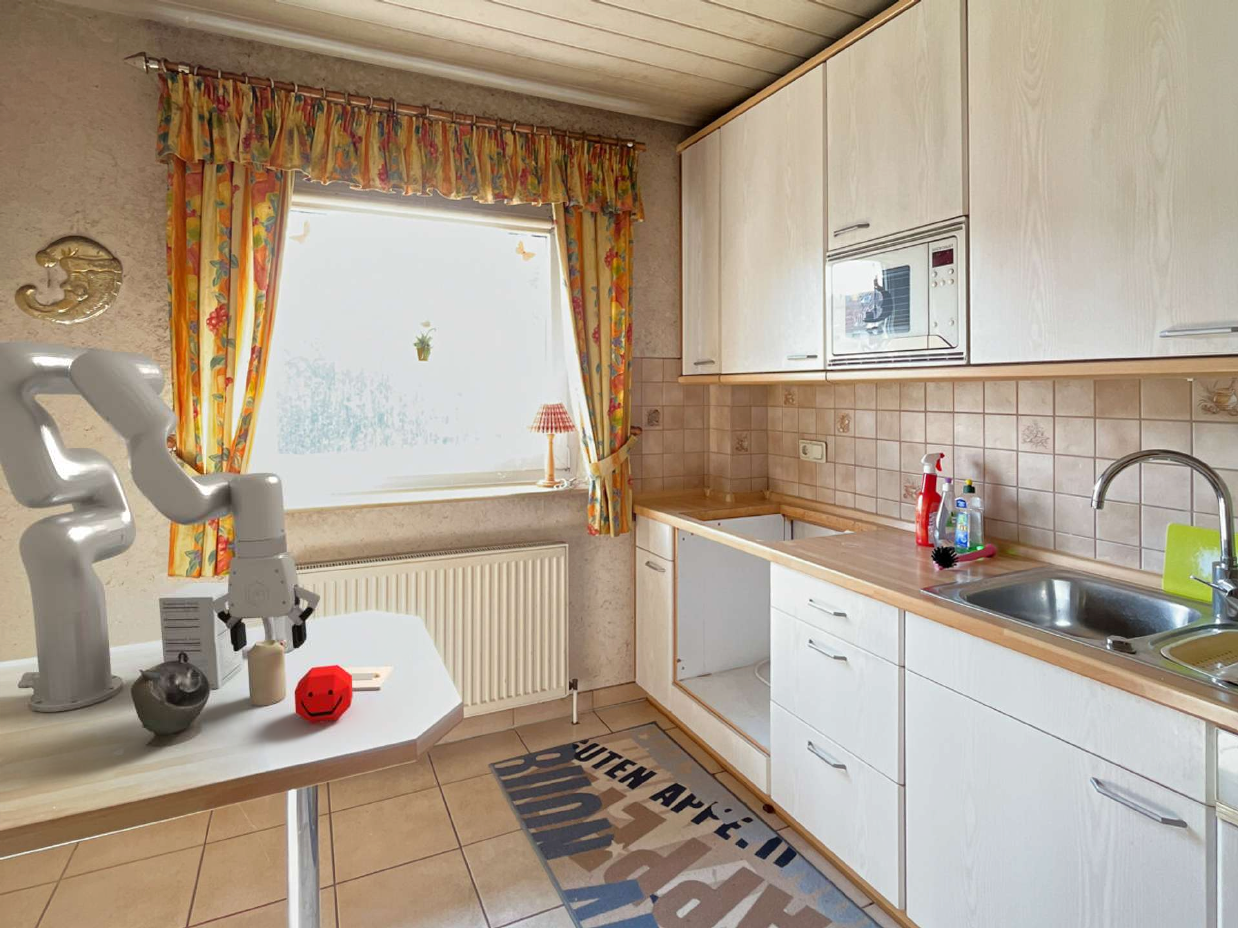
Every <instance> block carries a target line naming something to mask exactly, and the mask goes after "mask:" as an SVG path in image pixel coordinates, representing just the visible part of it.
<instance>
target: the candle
mask: <svg viewBox="0 0 1238 928" xmlns="http://www.w3.org/2000/svg"><path fill="white" fill-rule="evenodd" d="M246 656H247V673H248V675H247V677H248V689H249V691H248V692H249V702H250V705H253V706H259V707H261V706H270V705H274V704H277V703H279V702H281V701H283V700H284V699H286V696H287V683H286V681H287V680H286V665H285V664H286V662H285V661H286V659H285V653H284V647H283V646H282V645H280V644H279V643H278V642H276V641H275V640H265V639H264V640H262V641H256V642H255V643H254V645H253V646H252V647H251V648H250V649H249V650H248V651H247V652H246Z"/></svg>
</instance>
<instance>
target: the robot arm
mask: <svg viewBox="0 0 1238 928" xmlns="http://www.w3.org/2000/svg"><path fill="white" fill-rule="evenodd" d="M165 383H166V379H165V375H164V372H163V370H162V368H161V367H160V365H159V364H158V363H157V362H156V361H155V360H154V359H153V358H151V357H149V356H148V355H146V354H142V353H138V352H133V351H132V352H129V351H120V350H119V351H118V350H108V349H101V348H100V349H99V348H94V347H88V346H87V347H85V346H78V345H68V344H57V343H56V344H55V343H46V342H36V341H24V340H23V341H21V340H20V341H18V340H17V341H14V340H13V341H2V342H0V465H1V469H2V471H3V474H4V476H5V480H6V483H7V486H8V488H9V491H10V492H11V494H12V496H13V498H14V499H15V501H16V502H17V503H18V504H20V505H21V506H23V507H24V508H25V507H26V508H27V509H33V510H34V509H37V510H39V509H47V508H54V507H60V506H66V505H71V506H72V509H73V510H71V511H67V512H62V513H57V514H53V515H50V516H45V517H43V518H41V519H39V520H36V521H35V522H33V523H32V524H30V525H29V526H28V527H26V528H25V530H24V532H23V533H22V535H21V536H20V539H19V542H18V543H19V545H18V546H19V547H18V548H19V549H18V550H19V554H20V558H21V562H22V563H23V568H24V569H25V571H26V575H27V577H28V578H27V579H28V582H29V587H30V593H31V600H32V601H31V602H32V603H31V604H32V611H33V622H34V630H35V643H36V644H35V645H36V646H35V647H36V654H37V666H38V668H37V669H38V671H30V672H27V671H26V672H24V673H23V674H22V676H21V679H20V680H19V681H18V684H17V687H18V689H32V690H33V694H32V695H31V696H30V697H29V699H28V706H29V709H32V710H33V711H35V712H36V711H37V712H43V713H45V712H46V713H52V712H55V713H56V712H64V711H70V710H75V709H79V708H83V707H88V706H91V705H93V704H96V703H99V702H102V701H105V700H107V699H109V698H112V697H113V696H115V695H117V694H118V693H119V692H120V691H122V689H123V688H124V680H123V678H122V677H121V676H118V675H116V674H115V675H114V674H112V665H111V653H110V641H109V640H110V639H109V626H108V625H109V624H108V615H107V613H108V612H107V602H106V600H107V599H106V593H105V588H104V585H103V583H102V580H101V579H100V577H99V576H98V574H97V573H96V571H95V570H94V567H93V564H95V563H98V562H99V563H100V562H102V561H104V560H108V559H110V558H114V557H117V556H119V555H121V554H124V553H125V552H126V551H128V550H129V549H130V548H131V547H132V545H133V544H134V542H135V539H136V534H137V527H136V522H135V520H134V519H135V518H134V515H133V512H132V509H131V507H130V504H129V501H128V498H127V496H126V492H125V490H124V486H123V483H122V481H121V478H120V476H119V473H118V471H117V469H116V466H115V465H114V464H113V462H112V461H111V460H110V459H109V458H108V457H107V456H106V455H104V454H103V453H102V452H100V451H98V450H96V449H92V448H87V447H74V448H73V447H72V448H67V447H66V445H65V443H64V441H63V439H62V437H61V434H60V430H59V427H58V425H57V423H56V421H55V419H54V418H53V416H52V415H51V414H50V412H48V410H47V409H46V408H44V406H43V405H41V404H40V403H39V402H38V401H37V400H36V396H37V395H70V396H71V395H77V396H79V395H80V396H81V397H82V399H84V400H85V402H86V403H87V404H88V405H89V406H90V407H91V408H92V409H93V410H94V411H95V413H97V414H98V416H99V417H100V418H102V420H103V421H104V423H106V425H108V427H110V429H111V430H112V432H114V433H115V434H116V435H117V437H118V438H120V439H121V441H122V442H123V443H124V444H125V446H126V453H127V457H126V458H127V463H128V467H129V471H130V474H131V479H132V481H133V482H134V484H135V486H136V487H137V489H138V491H140V493H141V494H142V495H143V497H145V499H147V501H149V503H150V504H151V505H152V506H153V507H154V508H155V509H156V510H157V511H158V512H159V513H160V514H161V515H162V516H164V517H165V518H166V519H168V520H169V521H171V522H173V523H175V524H178V525H181V526H195V525H199V524H203V523H206V522H210V521H213V520H217V519H220V518H224V517H225V518H226V517H228V516H232V523H233V535H234V539H233V541H229V542H227V547H226V548H227V550H228V551H234V555H235V556H234V557H232V558H230V563H229V571H228V577H227V578H228V579H227V580H228V581H227V583H228V593H227V594H225V595H224V596H222V597H220V598H218V599H216V600H215V601H213V602H211V606H212V608H213V609H214V611H215V612H216V613H217V614H218V615H217V616H218V618H219V619H220V620H222V621H223V622H224V623H225V624H226V627H227V628H229V629H230V636H231V644H232V645H233V650H234V652H235V651H239V650H240V649H242V650H243V648H244V647H246V646H247V643H248V642H247V640H248V639H247V629H246V623H245V621H243V620H244V619H245V620H246V619H262V618H268V617H282V616H286V615H287V616H288V617H289V618H290V619H291V620H292V621H293V622H294V625H293V626H292V639H293V648H296V649H299V648H300V647H301V646H303V644H305V641H307V623H306V622H307V620H308V619H309V618H310V616H312V615H313V614H314V612H315V611H316V608H317V606H318V605H319V602H320V599H321V596H320V595H319V594H317V593H315V592H312V591H310V590H308V589H306V588H304V587H302V586H301V587H300V582H299V577H298V572H297V568H296V564H295V560H294V558H293V555H292V553H291V552H290V551H289V552H288V547H287V546H288V545H287V534H286V521H285V510H284V509H285V508H284V496H283V484H282V479H281V477H280V476H279V475H278V474H276V473H273V472H272V473H271V472H257V473H256V472H255V473H246V474H243V473H237V472H236V473H234V472H228V471H224V472H223V471H221V472H220V471H219V472H211V473H207V474H206V473H205V474H200V475H199V474H198V475H194V476H191V475H189V473H187V472H186V470H185V469H184V468H183V467H182V466H181V465H180V464H179V463H178V462H177V460H176V459H175V458H174V457H173V455H172V453H171V451H170V449H169V446H168V438H169V437H170V436H171V435H172V434H173V433H174V432H175V431H176V428H177V427H178V424H179V419H178V415H177V413H176V412H174V410H173V409H171V408H170V406H169V405H168V404H167V403H166V402H165V401H164V399H162V398H161V396H160V395H161V394H162V393H163V391H164V390H165V389H164V387H165ZM301 599H302V600H304V601H306V602H307V604H306V608H305V609H303V608H301V607H300V605H301ZM226 602H228V608H229V610H228V609H226V606H225V603H226ZM242 621H243V622H242Z"/></svg>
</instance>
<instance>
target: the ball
mask: <svg viewBox="0 0 1238 928" xmlns="http://www.w3.org/2000/svg"><path fill="white" fill-rule="evenodd" d="M342 668H343V667H342V666H340V665H339V664H335V665H326V666H323V665H322V666H315V667H311V668H310V669H309V670H308V672H306V673H305V674H304V675H303V676H302V677H301V679H299V681H298V682H297V685H296V687H295V690H294V704H295V705H294V707H295V708H294V711H295V713H296V714H297V716H300V717H301V718H302V719H304V720H305V721H306V722H307V723H309V724H310V725H311V724H319V723H326V722H334V721H336V722H337V721H338V720H339V719H340V718H341V717H342V716H343V715H344V714H345V713H346V711H348V710H349V708H350V707H351V705H352V700H353V696H354V694H353V693H354V692H353V690H352V675H350V674H349V673H348V672H346V671H345V670H344V669H342Z"/></svg>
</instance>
